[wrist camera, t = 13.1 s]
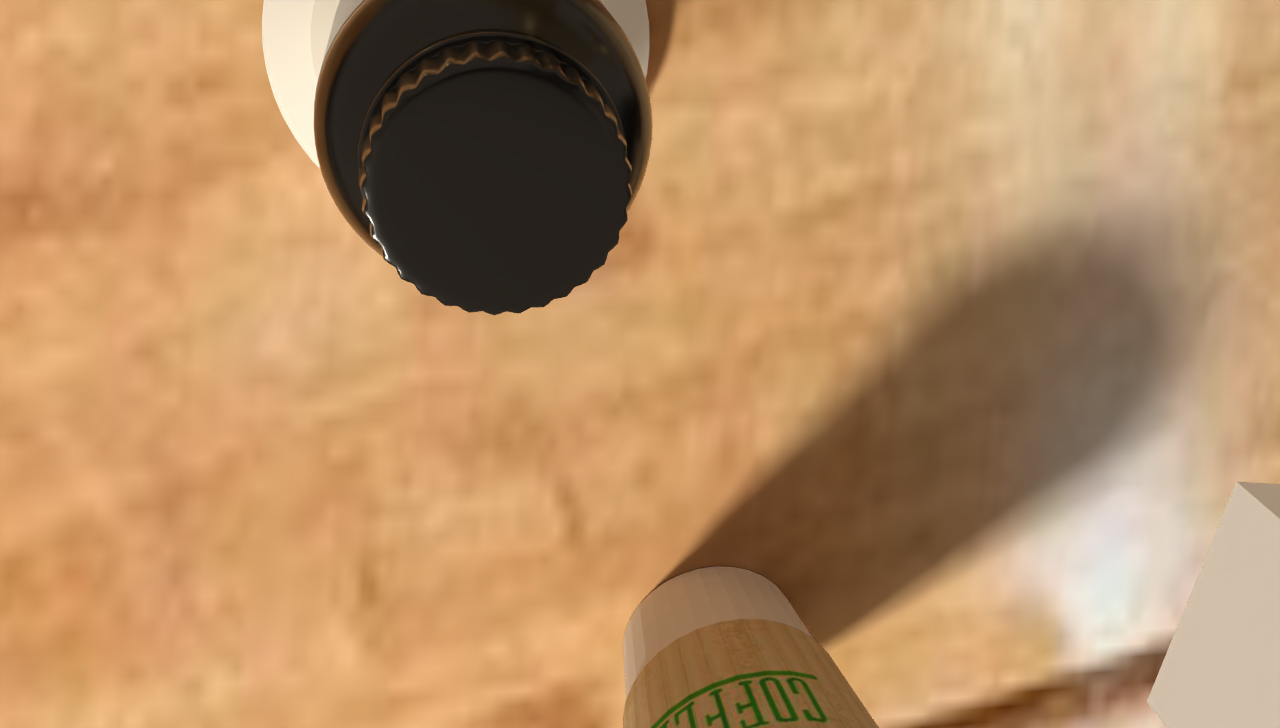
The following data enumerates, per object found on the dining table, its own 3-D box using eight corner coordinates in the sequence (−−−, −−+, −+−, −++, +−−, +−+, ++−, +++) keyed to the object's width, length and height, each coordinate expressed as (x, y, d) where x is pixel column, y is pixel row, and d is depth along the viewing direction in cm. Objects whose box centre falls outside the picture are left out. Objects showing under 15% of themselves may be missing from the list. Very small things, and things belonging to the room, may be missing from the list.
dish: (492, -250, 30) (495, -252, 29) (711, 75, 35) (721, 85, 33) (183, -2, 32) (174, 6, 30) (432, 281, 36) (432, 298, 35)
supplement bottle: (279, 66, 31) (209, 216, 21) (444, -153, 30) (461, -112, 19) (491, 224, 34) (525, 430, 23) (652, 32, 32) (768, 158, 22)
